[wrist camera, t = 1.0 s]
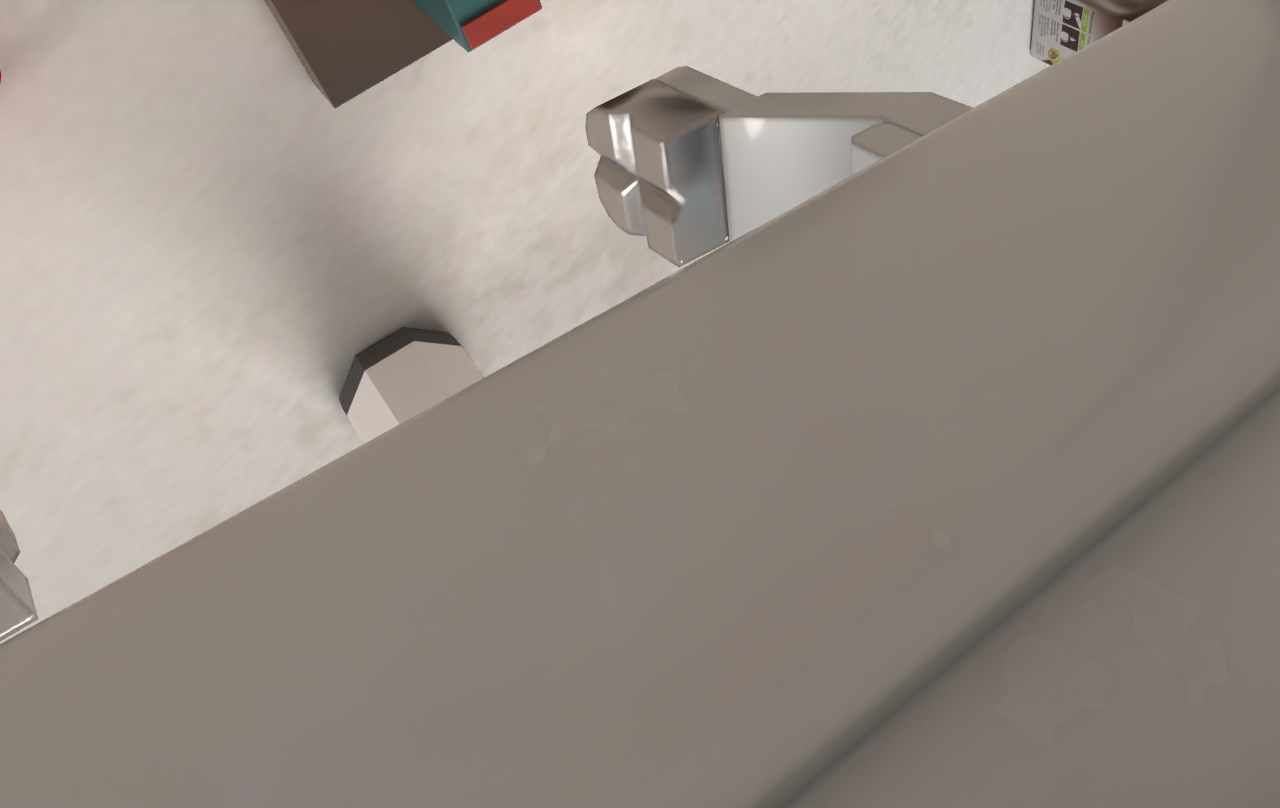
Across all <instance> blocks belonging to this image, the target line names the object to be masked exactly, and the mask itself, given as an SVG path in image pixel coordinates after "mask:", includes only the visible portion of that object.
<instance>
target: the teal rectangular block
mask: <svg viewBox="0 0 1280 808" xmlns="http://www.w3.org/2000/svg"><path fill="white" fill-rule="evenodd" d="M414 1H415V3H416V5H417V7H418V9H419V10H420V11H422V12H423V13H424V14H425V15H426V16H427V17H428V18H430V19H431V20H432V21H433V22H434V23H435V24H436V25H438V26H439V27H440V28H441V29H442V30H443V31H444V32H446V33H447V34H448V35H449V36H450V37H451V38H452V39H454V40H455V41H456V42H457V43H458V44H459V45H460V46H462V47H463V48H464V49H465V50H466V51H467V52H470V51H472V50H473V49H475V48H477V47H478V46H480V45H482V44H483V43H485V42H487V41H488V40H490V39H492V38H494V37H495V36H497V35H499V34H500V33H502V32H504V31H505V30H507V29H509V28H510V27H512V26H514V25H515V24H517V23H519V22H520V21H522V20H524V19H525V18H527V17H529V16H531V15H532V14H534V13H536V12H537V11H539V10H541V9H542V6H541V3H540V0H414Z"/></svg>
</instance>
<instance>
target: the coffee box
mask: <svg viewBox="0 0 1280 808" xmlns="http://www.w3.org/2000/svg"><path fill="white" fill-rule="evenodd" d="M1166 1H1168V0H1035V7H1034V19H1033V30H1032V42H1031V55H1032V56H1033V57H1035V58H1037V59H1039V60H1041V61H1043V62H1045V63H1047V64H1049V65H1053V64H1055V63H1056V62H1058V61H1060V60H1062V59H1064V58H1065V57H1067V56H1069V55H1071V54H1073V53H1075V52H1076V51H1078V50H1080V49H1082V48H1084V47H1086V46H1087V45H1089V44H1091V43H1093V42H1095V41H1096V40H1098V39H1100V38H1102V37H1104V36H1106V35H1107V34H1109V33H1111V32H1113V31H1115V30H1116V29H1118V28H1120V27H1122V26H1124V25H1126V24H1127V23H1129V22H1131V21H1133V20H1135V19H1136V18H1138V17H1140V16H1142V15H1143V14H1145V13H1147V12H1149V11H1150V10H1152V9H1154V8H1156V7H1157V6H1159V5H1161V4H1163V3H1164V2H1166Z"/></svg>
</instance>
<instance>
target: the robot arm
mask: <svg viewBox="0 0 1280 808" xmlns="http://www.w3.org/2000/svg"><path fill="white" fill-rule="evenodd" d="M586 133H587V139H588V144H589V146H590V147H591V148H593V149H594V150H595V151H596V152H597V153H598V154H600V155H601V157H600V160H599V163H598V166H597V169H596V172H595V175H594V176H595V180H596V185H597V189H598V194H599V198H600V200H601V202H602V204H603V206H604V208H605V210H606V212H607V214H608V216H609V217H610V218H611V219H612V220H613V222H614V223H615V224H616V225H617V226H618V227H619V228H621V229H622V230H623V231H625V232H626V233H628V234H630V235H641V236H647V240H648V246H649V248H650V249H652V250H653V251H655V252H656V253H658V254H659V255H661V256H662V257H664V258H665V259H667V260H668V261H670V262H671V263H673V264H674V265H676V266H677V267H680V266H682V265H684V264H686V263H688V262H690V261H692V260H694V259H696V258H698V257H700V256H702V255H704V254H706V253H708V252H710V251H712V250H714V249H716V248H718V247H719V246H721V245H723V244H725V243H727V242H729V241H730V243H728V244H726V245H724V246H722V247H721V248H719V249H717V250H715V251H713V252H712V253H710V254H708V255H706V256H704V257H702V258H701V259H699V260H697V261H695V262H693V263H692V264H690V265H688V266H686V267H684V268H683V269H681V270H679V271H677V272H675V273H673V274H672V275H670V276H668V277H666V278H664V279H663V280H661V281H659V282H657V283H655V284H654V285H652V286H650V287H648V288H646V289H644V290H643V291H641V292H639V293H637V294H635V295H634V296H632V297H630V298H628V299H626V300H625V301H623V302H621V303H619V304H617V305H615V306H614V307H612V308H610V309H608V310H606V311H605V312H603V313H601V314H599V315H597V316H595V317H594V318H592V319H590V320H588V321H586V322H585V323H583V324H581V325H579V326H577V327H576V328H574V329H572V330H570V331H568V332H566V333H565V334H563V335H561V336H559V337H557V338H556V339H554V340H552V341H550V342H548V343H547V344H545V345H543V346H541V347H539V348H537V349H536V350H534V351H532V352H530V353H528V354H527V355H525V356H523V357H521V358H519V359H517V360H516V361H514V362H512V363H510V364H508V365H507V366H505V367H503V368H501V369H499V370H497V371H496V372H494V373H492V374H490V375H488V376H487V377H485V378H483V379H481V380H479V381H477V382H476V383H474V384H472V385H470V386H468V387H467V388H465V389H463V390H461V391H459V392H457V393H456V394H454V395H452V396H450V397H448V398H447V399H445V400H443V401H441V402H439V403H437V404H436V405H434V406H432V407H430V408H428V409H427V410H425V411H423V412H421V413H419V414H418V415H416V416H414V417H412V418H410V419H408V420H407V421H405V422H403V423H401V424H399V425H398V426H396V427H394V428H392V429H390V430H388V431H387V432H385V433H383V434H381V435H379V436H378V437H376V438H374V439H372V440H370V441H368V442H367V443H365V444H363V445H361V446H359V447H358V448H356V449H354V450H352V451H350V452H348V453H347V454H345V455H343V456H341V457H339V458H338V459H336V460H334V461H332V462H330V463H328V464H327V465H325V466H323V467H321V468H319V469H318V470H316V471H314V472H312V473H310V474H308V475H307V476H305V477H303V478H301V479H299V480H298V481H296V482H294V483H292V484H290V485H289V486H287V487H285V488H283V489H281V490H279V491H278V492H276V493H274V494H272V495H270V496H269V497H267V498H265V499H263V500H261V501H259V502H258V503H256V504H254V505H252V506H250V507H249V508H247V509H245V510H243V511H241V512H239V513H238V514H236V515H234V516H232V517H230V518H229V519H227V520H225V521H223V522H221V523H219V524H218V525H216V526H214V527H212V528H210V529H209V530H207V531H205V532H203V533H201V534H199V535H198V536H196V537H194V538H192V539H190V540H189V541H187V542H185V543H183V544H181V545H179V546H178V547H176V548H174V549H172V550H170V551H169V552H167V553H165V554H163V555H161V556H160V557H158V558H156V559H154V560H152V561H150V562H149V563H147V564H145V565H143V566H141V567H140V568H138V569H136V570H134V571H132V572H130V573H129V574H127V575H125V576H123V577H121V578H120V579H118V580H116V581H114V582H112V583H110V584H109V585H107V586H105V587H103V588H101V589H100V590H98V591H96V592H94V593H92V594H90V595H89V596H87V597H85V598H83V599H81V600H80V601H78V602H76V603H74V604H72V605H70V606H69V607H67V608H65V609H63V610H61V611H60V612H58V613H56V614H54V615H52V616H51V617H49V618H47V619H45V620H43V621H41V622H40V623H38V624H36V625H34V626H32V627H31V628H29V629H27V630H25V631H23V632H22V633H20V634H18V635H16V636H14V637H13V638H11V639H9V640H7V641H5V642H3V643H2V644H0V808H1280V0H1168V1H1166V2H1164V3H1163V4H1161V5H1159V6H1157V7H1156V8H1154V9H1152V10H1150V11H1149V12H1147V13H1145V14H1143V15H1142V16H1140V17H1138V18H1136V19H1135V20H1133V21H1131V22H1129V23H1127V24H1126V25H1124V26H1122V27H1120V28H1118V29H1116V30H1115V31H1113V32H1111V33H1109V34H1107V35H1106V36H1104V37H1102V38H1100V39H1098V40H1096V41H1095V42H1093V43H1091V44H1089V45H1087V46H1086V47H1084V48H1082V49H1080V50H1078V51H1076V52H1075V53H1073V54H1071V55H1069V56H1067V57H1065V58H1064V59H1062V60H1060V61H1058V62H1056V63H1055V64H1053V65H1051V66H1049V67H1047V68H1045V69H1044V70H1042V71H1040V72H1038V73H1036V74H1035V75H1033V76H1031V77H1029V78H1027V79H1025V80H1024V81H1022V82H1020V83H1018V84H1016V85H1015V86H1013V87H1011V88H1009V89H1007V90H1005V91H1004V92H1002V93H1000V94H998V95H996V96H995V97H993V98H991V99H989V100H987V101H986V102H984V103H982V104H980V105H978V106H976V107H975V108H972V107H970V106H967V105H964V104H961V103H959V102H956V101H953V100H951V99H948V98H945V97H943V96H940V95H937V94H935V93H932V92H870V93H765V94H763V95H761V96H759V97H757V96H755V95H752V94H750V93H748V92H745V91H743V90H741V89H738V88H736V87H734V86H732V85H729V84H727V83H725V82H722V81H720V80H718V79H715V78H713V77H711V76H708V75H706V74H704V73H702V72H699V71H697V70H695V69H692V68H690V67H688V66H683V67H677V68H675V69H673V70H671V71H669V72H667V73H665V74H663V75H661V76H659V77H657V78H656V79H652V80H650V81H648V82H646V83H644V84H642V85H640V86H638V87H636V88H634V89H632V90H630V91H628V92H626V93H624V94H622V95H620V96H618V97H616V98H614V99H611V100H609V101H607V102H605V103H603V104H601V105H599V106H597V107H595V108H594V109H592V110H591V111H589V112H588V113H586ZM19 553H20V551H19V547H18V544H17V541H16V538H15V535H14V533H13V531H12V529H11V527H10V525H9V524H8V522H7V520H6V518H5V516H4V514H3V512H2V511H1V510H0V641H1V640H3V639H5V638H7V637H8V636H10V635H12V634H14V633H15V632H17V631H19V630H20V629H22V628H24V627H26V626H27V625H29V624H31V623H33V622H34V621H36V620H38V616H37V613H36V609H35V605H34V601H33V598H32V594H31V590H30V586H29V583H28V579H27V578H26V577H25V575H24V574H23V573H22V572H21V571H20V570H19V569H18V568H17V567H16V566H15V565H14V562H15V560H16V559H17V557H18V555H19Z"/></svg>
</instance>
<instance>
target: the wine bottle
mask: <svg viewBox="0 0 1280 808" xmlns="http://www.w3.org/2000/svg"><path fill="white" fill-rule="evenodd" d="M483 378H485V377H484V375H483V374H482V373H481V371H480V370H479V369H478V368H477V366H476V365H475V364H474V362H473V361H472V360H471V358H470V357H469V356H468V354H467V353H466V352H465V351H464V349H463V348H462V347H461V345H460V344H459V343H458V342H457V340H456V339H455V338H454V337H453V336H451V335H450V334H449V333H446V332H437V331H428V330H420V329H411V328H401V329H400V330H398V331H396V332H395V333H393V334H391V335H390V336H388V337H386V338H385V339H383V340H381V341H380V342H378V343H376V344H374V345H373V346H371V347H369V348H368V349H366V350H364V351H363V352H361V353H359V354H358V355H356V357H355V360H354V362H353V365H352V367H351V370H350V372H349V375H348V377H347V380H346V383H345V385H344V388H343V390H342V393H341V395H340V398H339V400H340V403H341V405H342V408H343V410H344V411H345V413H346V415H347V417H348V419H349V420H350V422H351V424H352V425H353V427H354V429H355V430H356V432H357V434H358V435H359V437H360V439H361V440H362V442H363V444H365V443H367V442H368V441H370V440H372V439H374V438H376V437H378V436H379V435H381V434H383V433H385V432H387V431H388V430H390V429H392V428H394V427H396V426H398V425H399V424H401V423H403V422H405V421H407V420H408V419H410V418H412V417H414V416H416V415H418V414H419V413H421V412H423V411H425V410H427V409H428V408H430V407H432V406H434V405H436V404H437V403H439V402H441V401H443V400H445V399H447V398H448V397H450V396H452V395H454V394H456V393H457V392H459V391H461V390H463V389H465V388H467V387H468V386H470V385H472V384H474V383H476V382H477V381H479V380H481V379H483Z"/></svg>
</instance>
